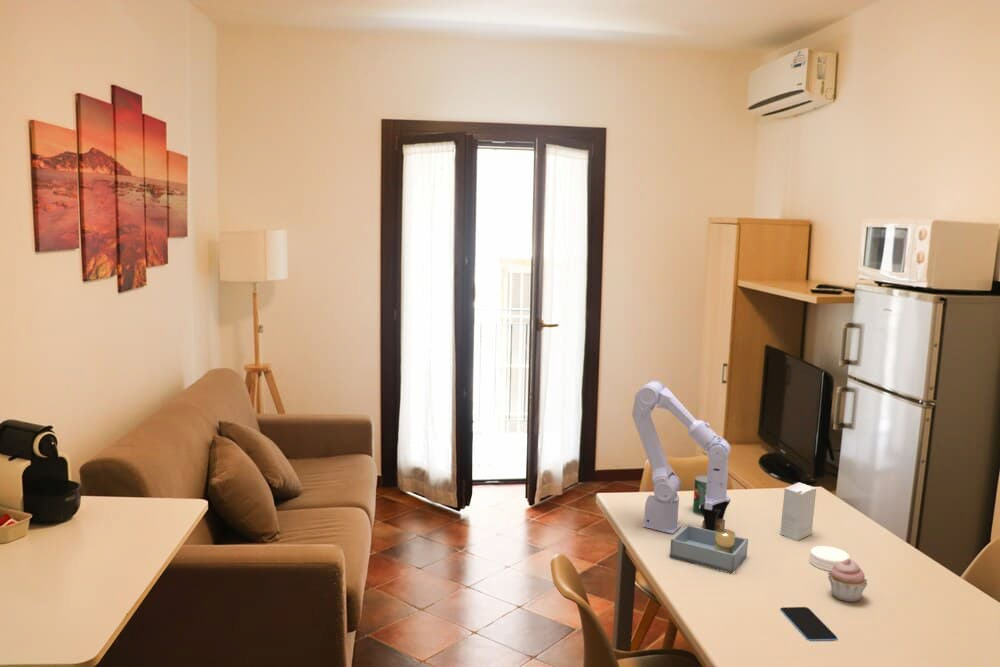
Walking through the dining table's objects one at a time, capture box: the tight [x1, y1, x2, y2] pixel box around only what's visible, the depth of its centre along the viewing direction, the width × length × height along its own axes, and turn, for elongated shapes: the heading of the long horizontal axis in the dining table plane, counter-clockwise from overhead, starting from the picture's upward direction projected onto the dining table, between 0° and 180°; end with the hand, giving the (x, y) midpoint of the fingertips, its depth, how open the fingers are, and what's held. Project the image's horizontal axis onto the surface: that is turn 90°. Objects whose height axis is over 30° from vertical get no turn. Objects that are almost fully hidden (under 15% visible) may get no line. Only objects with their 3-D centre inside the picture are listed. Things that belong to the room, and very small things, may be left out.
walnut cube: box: [701, 518, 726, 532], centre depth 233 cm, size 5×5×5 cm
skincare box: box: [780, 481, 817, 542], centre depth 235 cm, size 8×6×15 cm
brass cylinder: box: [714, 528, 736, 554], centre depth 216 cm, size 5×5×7 cm
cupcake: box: [827, 558, 869, 603], centre depth 197 cm, size 9×9×10 cm
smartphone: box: [779, 606, 839, 642], centre depth 184 cm, size 7×1×15 cm
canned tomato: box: [692, 474, 707, 517], centre depth 252 cm, size 8×8×11 cm
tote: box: [669, 524, 749, 574], centre depth 219 cm, size 17×13×5 cm
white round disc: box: [809, 545, 851, 572], centre depth 217 cm, size 10×10×4 cm
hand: (713, 526), depth 233 cm, fingers open, 7 cm apart
